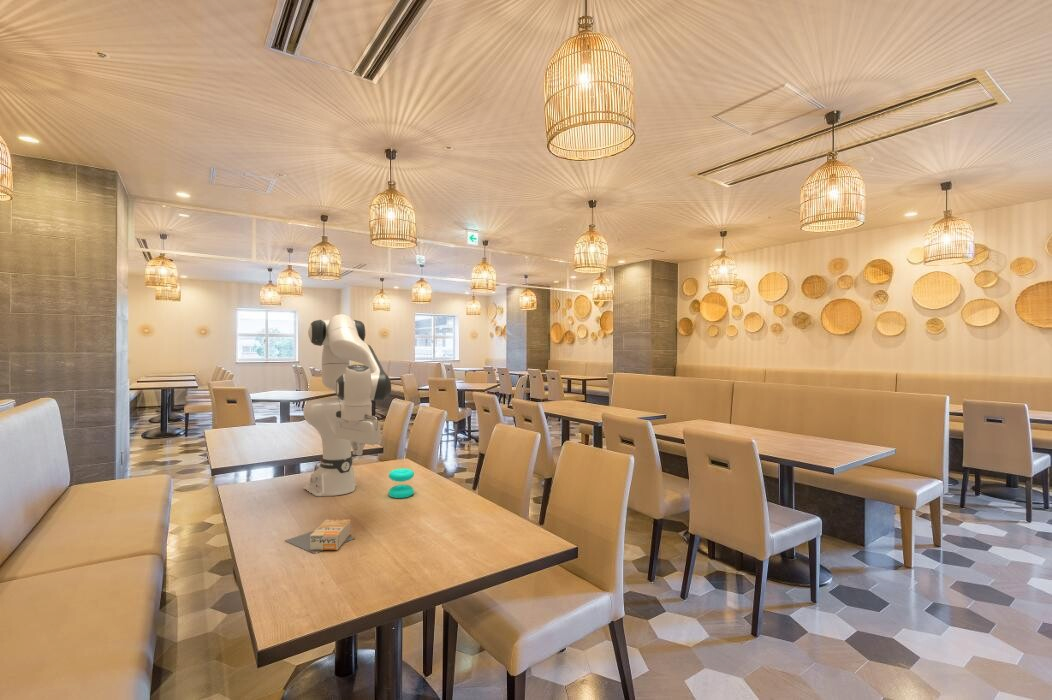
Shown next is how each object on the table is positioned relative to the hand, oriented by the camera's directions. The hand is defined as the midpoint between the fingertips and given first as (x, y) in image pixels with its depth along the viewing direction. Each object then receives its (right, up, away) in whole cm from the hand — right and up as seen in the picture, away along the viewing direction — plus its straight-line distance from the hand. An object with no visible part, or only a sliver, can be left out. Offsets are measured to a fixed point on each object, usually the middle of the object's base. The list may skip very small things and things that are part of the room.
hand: (357, 454), depth 163 cm
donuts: (+6, -24, +35) cm, 43 cm away
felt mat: (-8, -24, -11) cm, 28 cm away
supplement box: (-4, -22, -6) cm, 23 cm away
